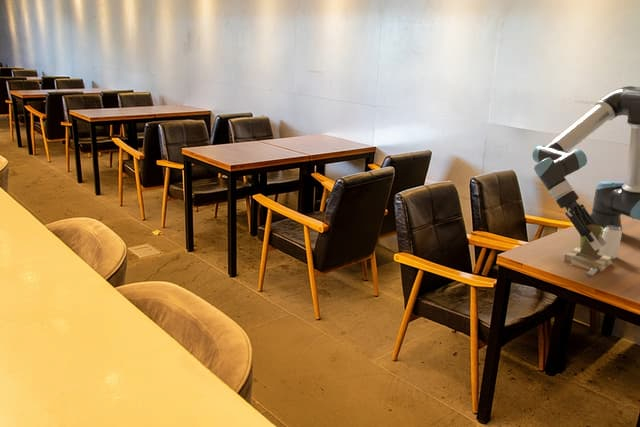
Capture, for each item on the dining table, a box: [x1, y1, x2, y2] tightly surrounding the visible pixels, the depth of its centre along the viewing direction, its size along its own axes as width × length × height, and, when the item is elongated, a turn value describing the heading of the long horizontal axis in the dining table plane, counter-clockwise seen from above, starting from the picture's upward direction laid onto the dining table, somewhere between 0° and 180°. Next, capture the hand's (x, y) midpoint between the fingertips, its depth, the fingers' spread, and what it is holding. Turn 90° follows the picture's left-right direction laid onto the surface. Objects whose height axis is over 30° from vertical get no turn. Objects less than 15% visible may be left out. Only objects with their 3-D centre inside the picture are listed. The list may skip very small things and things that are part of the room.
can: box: [598, 225, 623, 260], centre depth 210 cm, size 6×6×12 cm
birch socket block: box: [563, 246, 613, 273], centre depth 204 cm, size 13×13×3 cm
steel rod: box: [586, 266, 599, 278], centre depth 194 cm, size 10×2×2 cm, turn 136°
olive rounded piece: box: [580, 225, 602, 256], centre depth 201 cm, size 6×6×11 cm
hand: (601, 247), depth 199 cm, fingers closed on olive rounded piece, 5 cm apart
